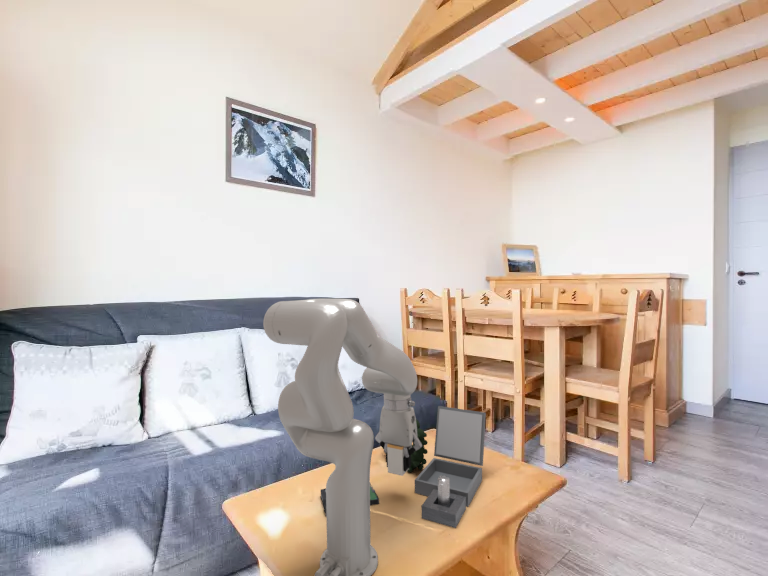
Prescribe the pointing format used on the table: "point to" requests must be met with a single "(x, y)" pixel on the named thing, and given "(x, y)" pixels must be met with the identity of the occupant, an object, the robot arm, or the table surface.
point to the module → (395, 459)
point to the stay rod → (444, 491)
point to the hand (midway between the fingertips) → (398, 466)
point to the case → (460, 478)
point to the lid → (460, 435)
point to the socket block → (444, 509)
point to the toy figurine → (419, 451)
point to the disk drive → (373, 497)
